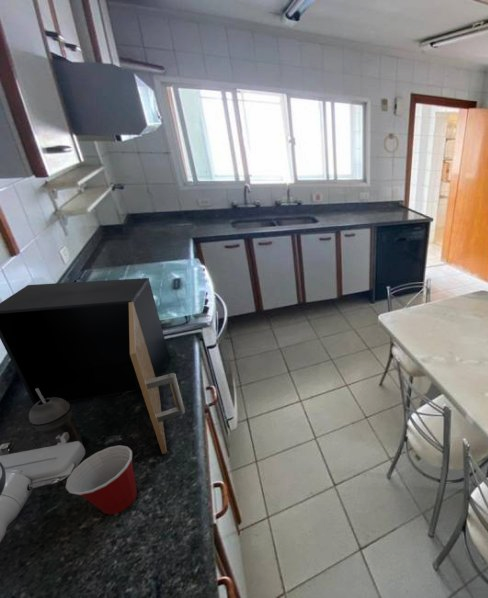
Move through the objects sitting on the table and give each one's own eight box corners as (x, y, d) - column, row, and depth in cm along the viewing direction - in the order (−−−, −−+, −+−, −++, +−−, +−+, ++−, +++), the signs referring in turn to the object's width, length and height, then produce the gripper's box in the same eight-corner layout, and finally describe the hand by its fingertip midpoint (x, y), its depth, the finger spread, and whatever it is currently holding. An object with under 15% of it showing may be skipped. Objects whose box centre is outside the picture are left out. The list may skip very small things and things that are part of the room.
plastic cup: (97, 489, 75) (76, 454, 70) (154, 473, 79) (137, 438, 74) (79, 537, 66) (53, 501, 61) (143, 516, 70) (124, 480, 65)
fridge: (157, 388, 106) (131, 300, 93) (35, 408, 95) (-14, 311, 82) (169, 357, 121) (148, 277, 108) (65, 371, 110) (27, 284, 97)
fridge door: (180, 383, 109) (158, 297, 96) (193, 444, 88) (167, 345, 75) (155, 390, 105) (128, 302, 92) (163, 456, 84) (129, 354, 71)
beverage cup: (82, 431, 89) (50, 372, 80) (94, 443, 86) (61, 383, 77) (46, 450, 83) (6, 390, 74) (57, 464, 80) (17, 402, 71)
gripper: (62, 469, 64) (91, 418, 76) (-91, 502, 57) (-33, 440, 68) (73, 490, 67) (100, 438, 78) (-72, 524, 59) (-19, 461, 71)
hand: (37, 439), depth 73 cm, fingers open, 8 cm apart
